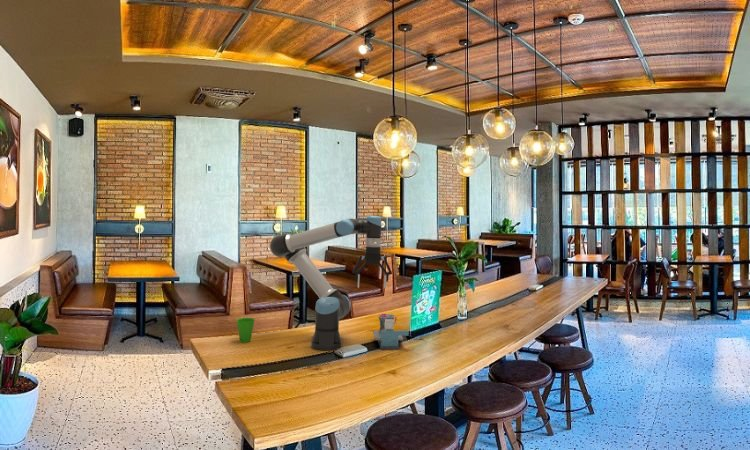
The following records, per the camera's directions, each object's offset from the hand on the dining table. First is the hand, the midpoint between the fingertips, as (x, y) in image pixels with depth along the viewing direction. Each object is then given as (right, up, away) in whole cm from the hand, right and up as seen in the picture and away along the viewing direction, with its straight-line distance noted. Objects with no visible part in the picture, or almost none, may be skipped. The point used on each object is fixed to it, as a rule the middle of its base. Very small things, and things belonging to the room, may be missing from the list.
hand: (371, 287), depth 241 cm
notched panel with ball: (+9, -29, -1) cm, 30 cm away
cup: (-64, -27, -3) cm, 69 cm away
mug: (+9, -28, +17) cm, 34 cm away
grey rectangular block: (+9, -28, -5) cm, 29 cm away
